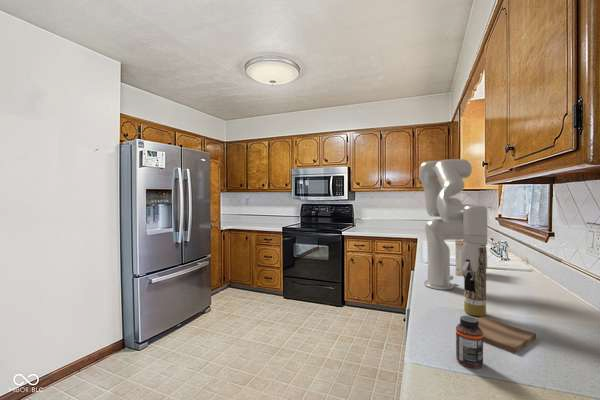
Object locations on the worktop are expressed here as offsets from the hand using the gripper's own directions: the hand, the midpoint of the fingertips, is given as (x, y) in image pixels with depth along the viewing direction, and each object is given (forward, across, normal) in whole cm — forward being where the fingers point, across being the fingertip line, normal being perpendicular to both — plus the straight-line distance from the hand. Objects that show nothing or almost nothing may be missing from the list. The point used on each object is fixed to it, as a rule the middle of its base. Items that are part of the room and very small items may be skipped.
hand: (474, 288), depth 105 cm
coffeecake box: (+9, -54, -31) cm, 63 cm away
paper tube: (+9, 0, 0) cm, 9 cm away
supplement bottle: (+9, +34, +15) cm, 38 cm away
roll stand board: (+9, +12, +12) cm, 19 cm away
